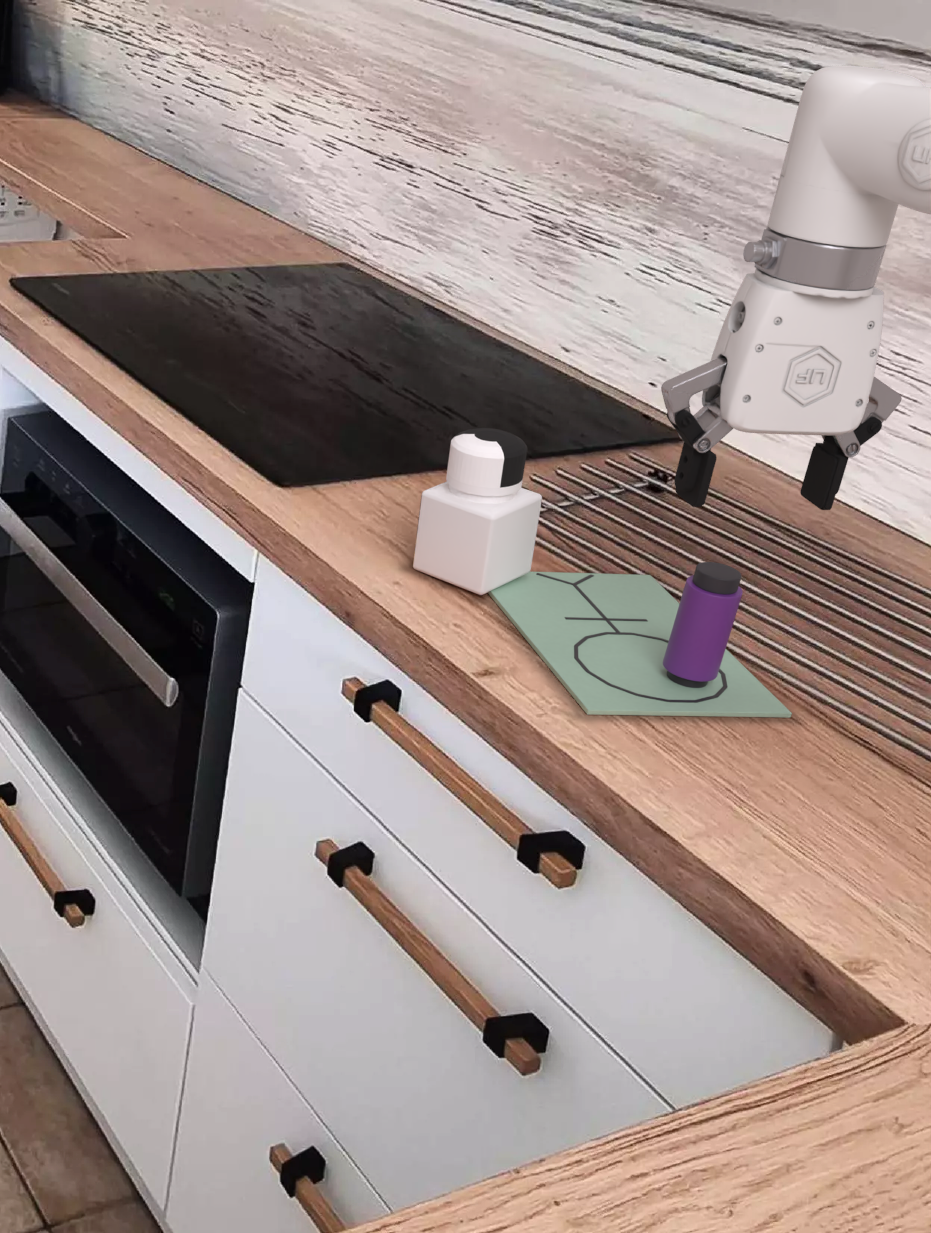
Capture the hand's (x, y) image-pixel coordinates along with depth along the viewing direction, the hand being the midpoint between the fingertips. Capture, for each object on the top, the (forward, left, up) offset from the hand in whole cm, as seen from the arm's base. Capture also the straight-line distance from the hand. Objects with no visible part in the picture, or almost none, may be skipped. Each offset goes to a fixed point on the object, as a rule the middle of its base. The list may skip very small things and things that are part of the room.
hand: (752, 501), depth 125 cm
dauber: (+1, -1, -15) cm, 15 cm away
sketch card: (+6, -6, -15) cm, 17 cm away
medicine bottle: (+19, -12, -15) cm, 27 cm away
